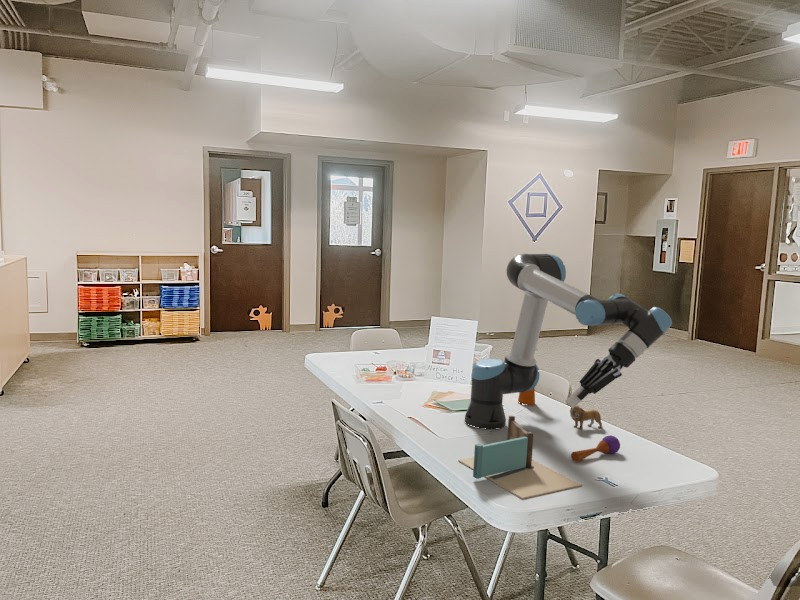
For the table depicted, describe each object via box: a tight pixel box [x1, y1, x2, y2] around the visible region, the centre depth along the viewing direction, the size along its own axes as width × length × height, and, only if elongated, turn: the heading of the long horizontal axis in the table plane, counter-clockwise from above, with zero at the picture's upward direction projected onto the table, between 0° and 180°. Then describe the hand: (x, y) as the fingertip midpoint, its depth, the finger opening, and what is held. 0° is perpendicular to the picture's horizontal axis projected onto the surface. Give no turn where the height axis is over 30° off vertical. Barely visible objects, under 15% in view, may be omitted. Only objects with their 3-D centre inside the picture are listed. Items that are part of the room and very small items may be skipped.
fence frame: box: [506, 415, 535, 468], centre depth 201 cm, size 18×2×11 cm, turn 10°
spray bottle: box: [517, 347, 538, 406], centre depth 263 cm, size 7×11×26 cm, turn 111°
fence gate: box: [472, 437, 528, 480], centre depth 186 cm, size 20×2×10 cm, turn 124°
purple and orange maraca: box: [570, 435, 621, 463], centre depth 206 cm, size 6×6×20 cm
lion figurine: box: [569, 404, 603, 431], centre depth 235 cm, size 15×5×9 cm, turn 114°
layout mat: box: [457, 456, 583, 500], centre depth 189 cm, size 30×22×1 cm
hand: (568, 404), depth 188 cm, fingers closed
